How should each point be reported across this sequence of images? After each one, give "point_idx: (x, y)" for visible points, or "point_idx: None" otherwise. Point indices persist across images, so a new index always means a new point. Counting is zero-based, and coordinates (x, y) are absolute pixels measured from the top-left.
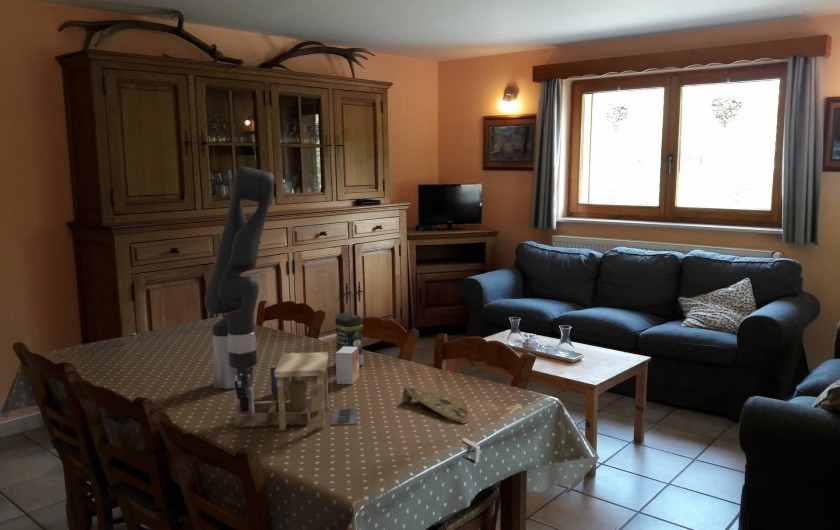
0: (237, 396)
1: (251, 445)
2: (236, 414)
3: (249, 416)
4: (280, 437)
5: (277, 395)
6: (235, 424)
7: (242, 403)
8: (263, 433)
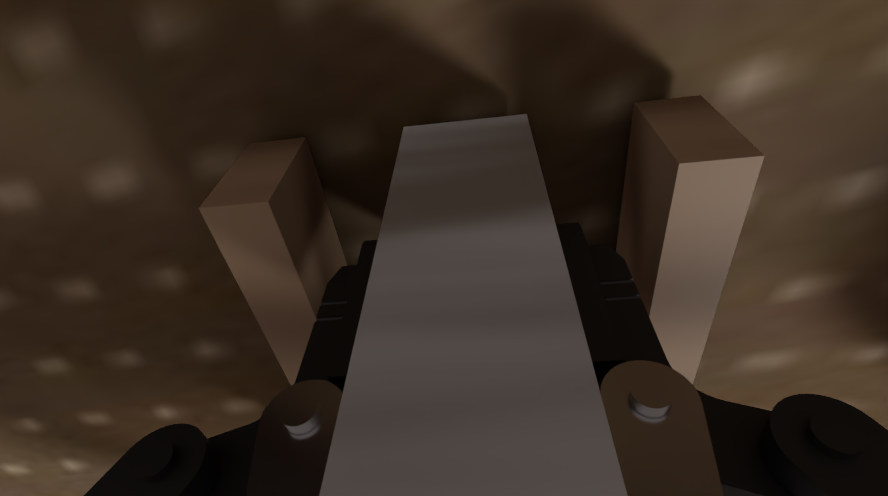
0: (100, 489)
1: (20, 324)
2: (264, 211)
3: (269, 329)
4: (208, 422)
5: None
6: (240, 159)
7: (316, 354)
8: (233, 345)
